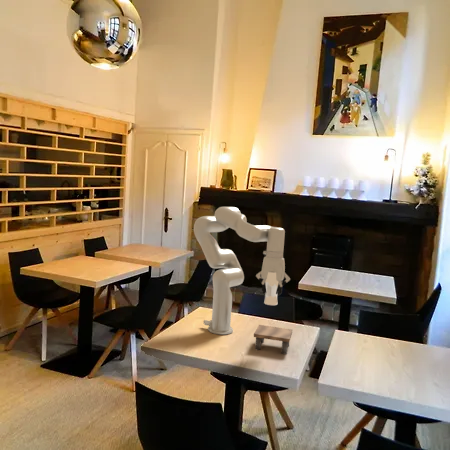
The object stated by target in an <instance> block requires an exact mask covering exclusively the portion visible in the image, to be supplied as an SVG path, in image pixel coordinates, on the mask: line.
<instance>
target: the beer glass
mask: <svg viewBox="0 0 450 450" xmlns="http://www.w3.org/2000/svg"><path fill="white" fill-rule="evenodd" d="M278 287H279V281H277V280H276V273H275V272H268V275H267V279H265V295H264V302H263V304H265V305H267V306H277V305H278Z"/></svg>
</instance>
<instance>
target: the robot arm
mask: <svg viewBox="0 0 450 450" xmlns="http://www.w3.org/2000/svg"><path fill="white" fill-rule="evenodd" d="M247 221H248V220H247V217H246V215H245V214H243V213H241V210H239V208H238V207H235V206H219V207H218V208H217V209H216V210H215V211H214V215H204V216H200V217H198V218H197V219H196V220H195V222H194V225H193V234H194V237H195V239H196V240H197V242H198V244H199V246H200V247H201V250H202V252H203V254H204V256H205V259H206V262H207V264H208V266H209V267H210V268H212V269H218V270H216V271H214V273H213V274H212V286H213V294H212V295H213V296H212V311H211V320H209V319H208V320H207V319H204V320H203V324H204V325H205V326H208V327H207V331H208V332H210V333H211V334H214V335H220V336H221V335H231V334H232V333H234V329H233V327H232V326H231V323H232V321H231V320H232V309H233V308H232V306H233V294H232V291H231V288H232V287H236V286H237V287H238V286H240V285H242V284H243V282H244V280H245V274H244V271H243V268H242V267H241V264H240V262H239V260H238V258H237V255H236V254H235V253H234V251H233V250H232V249H229V248H221V247H220V246H219V243H218V241H217V240H216V238H215V237H214V236H213V235H212V234H211V233H220V232H224V231H226V230H228V229H229V228H230V229H232V230H234V231H235V233H236V234H237V235H238V236H239V237H240V238H242V239H244V240H247V241H249V242H253V243H260V242H263V243H264V242H267V243H266V249H265V250H263V252H262V254H263V255H265V256H264V257H263V260H262V261H263V262H262V266H261V271H259V272H258V273H256V275H255V277H256V278H257V279H258V281H259V282H260V283H261V285H262V286H261V291H262V294H266V292H265V279H267V275H268V272H275V273H276V280H277V281H279V287H278V294H277V296H281V294H282V293H283V286H285V285H286V284H287V283H288V282H290V281H291V278H290V276H289V275H288V274H287V273H286V272H285V271H286V270H285V269H286V266H285V265H286V263H285V258H284V250H285V249H284V246H285V235H286V234H285V233H286V231H285V229H284V228H282V227H277V226H271V225H268V224H267V225H266V224H263V225H261V224H260V225H257V224H256V225H254V224H251V223H249V222H247ZM284 279H285V280H284Z"/></svg>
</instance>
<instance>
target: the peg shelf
mask: <svg viewBox="0 0 450 450" xmlns="http://www.w3.org/2000/svg"><path fill="white" fill-rule="evenodd" d="M292 334H293V328H292V329H291V328H285V327H284V328H283V327H279V326H278V327H276V326H271V325H270V326H269V325H265V324H258V326H257V328H256V329H255V331H254V333H253V338H255V344H254V345H255V348H254V349H255V350H256V351H261V347H262V346H261V345H262V344H263V343H265V340H271V341H272V340H273V341H279V342H281V354H282V355H287V354H288V347H290V341H291V338H292Z"/></svg>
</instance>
